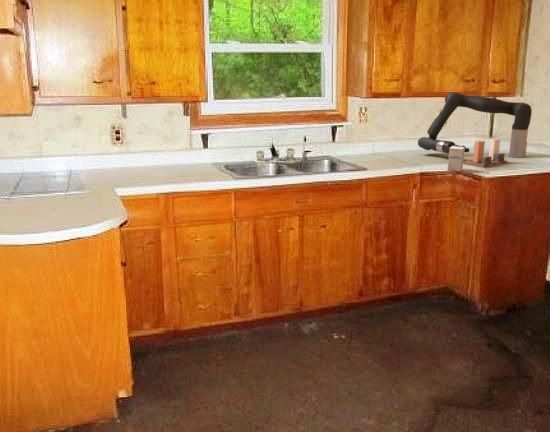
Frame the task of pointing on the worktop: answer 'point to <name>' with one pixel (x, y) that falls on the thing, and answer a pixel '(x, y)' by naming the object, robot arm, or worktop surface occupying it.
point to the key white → (494, 148)
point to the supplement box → (456, 158)
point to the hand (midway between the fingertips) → (468, 150)
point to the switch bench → (488, 161)
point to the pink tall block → (478, 151)
